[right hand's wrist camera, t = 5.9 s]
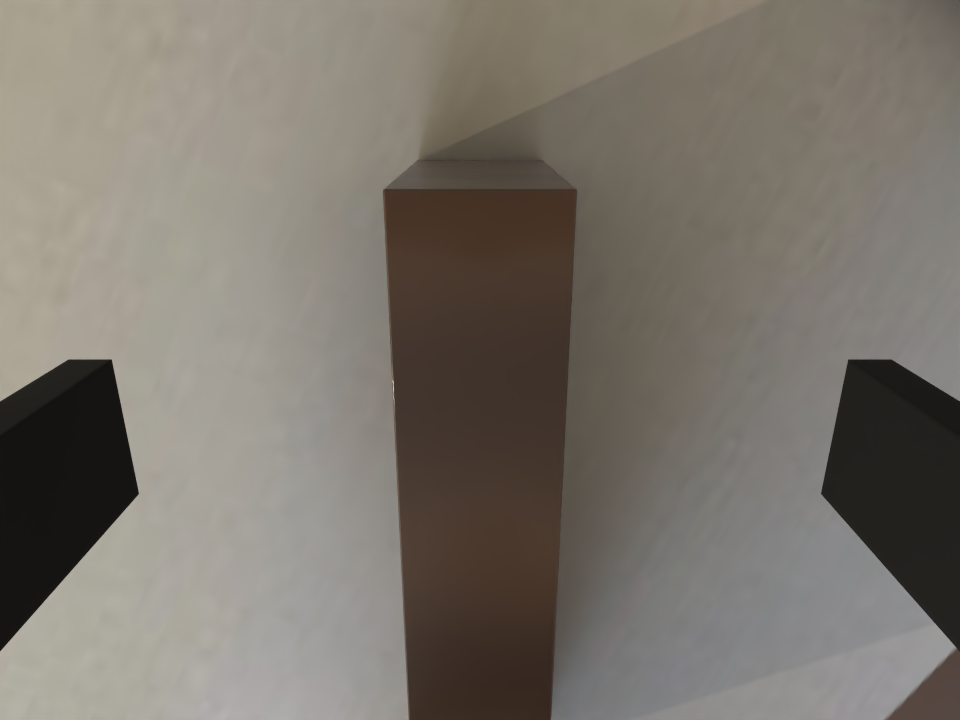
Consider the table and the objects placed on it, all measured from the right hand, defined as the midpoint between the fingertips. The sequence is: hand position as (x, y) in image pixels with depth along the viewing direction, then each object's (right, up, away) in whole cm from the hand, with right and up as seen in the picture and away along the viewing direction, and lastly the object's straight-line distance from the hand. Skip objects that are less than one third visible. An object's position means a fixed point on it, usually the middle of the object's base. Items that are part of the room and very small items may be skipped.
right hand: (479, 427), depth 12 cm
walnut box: (0, -6, +20) cm, 21 cm away
